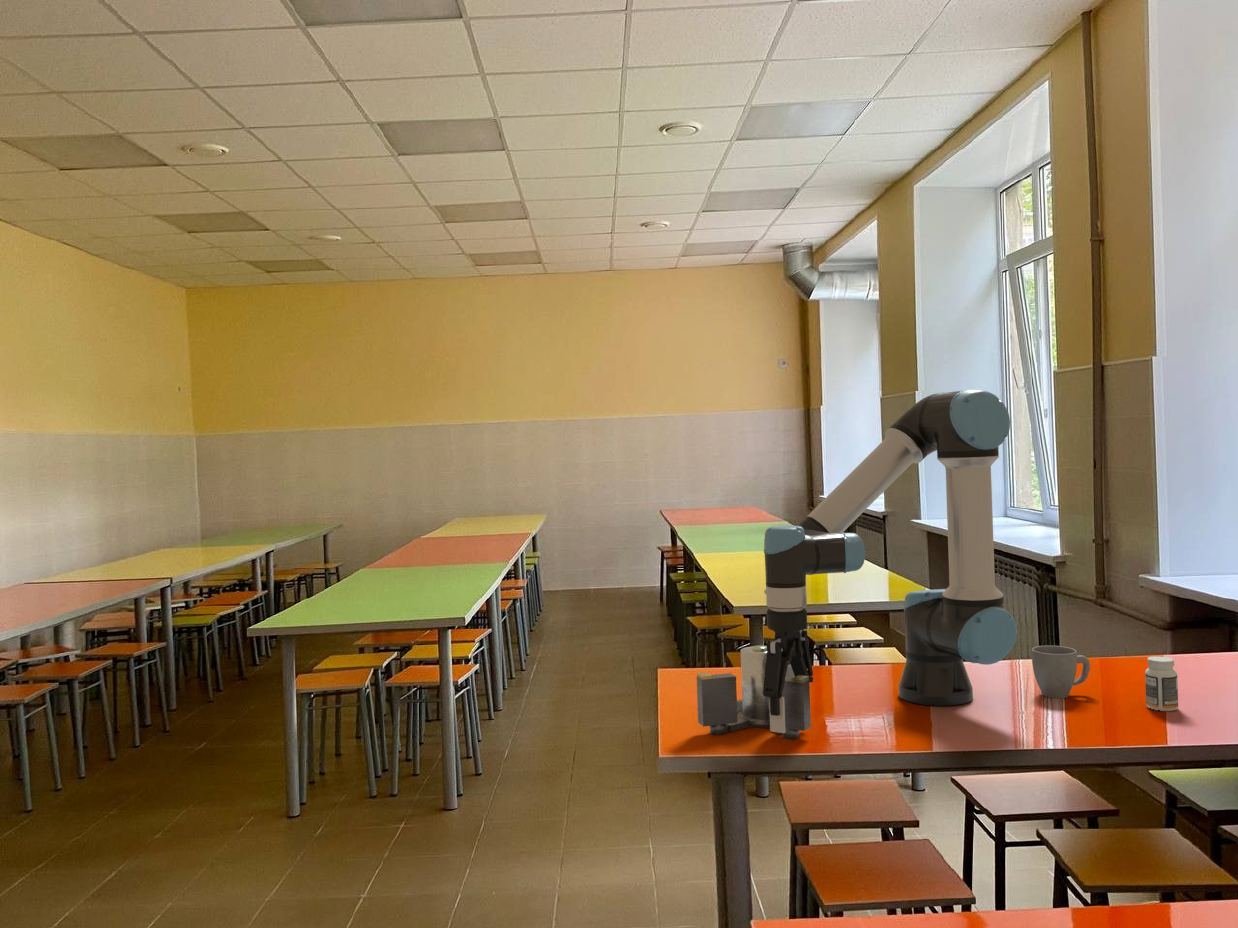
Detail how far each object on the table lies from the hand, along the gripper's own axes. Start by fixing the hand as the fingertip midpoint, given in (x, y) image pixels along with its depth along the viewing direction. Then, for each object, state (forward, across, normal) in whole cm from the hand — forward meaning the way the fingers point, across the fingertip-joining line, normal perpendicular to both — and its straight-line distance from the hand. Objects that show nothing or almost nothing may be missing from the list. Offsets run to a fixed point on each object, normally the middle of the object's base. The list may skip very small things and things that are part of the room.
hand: (790, 724), depth 187 cm
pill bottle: (+3, -50, +58) cm, 77 cm away
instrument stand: (+3, -7, -9) cm, 12 cm away
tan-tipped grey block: (+3, +4, -14) cm, 14 cm away
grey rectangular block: (+3, 0, 0) cm, 3 cm away
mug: (+3, -53, +39) cm, 66 cm away
